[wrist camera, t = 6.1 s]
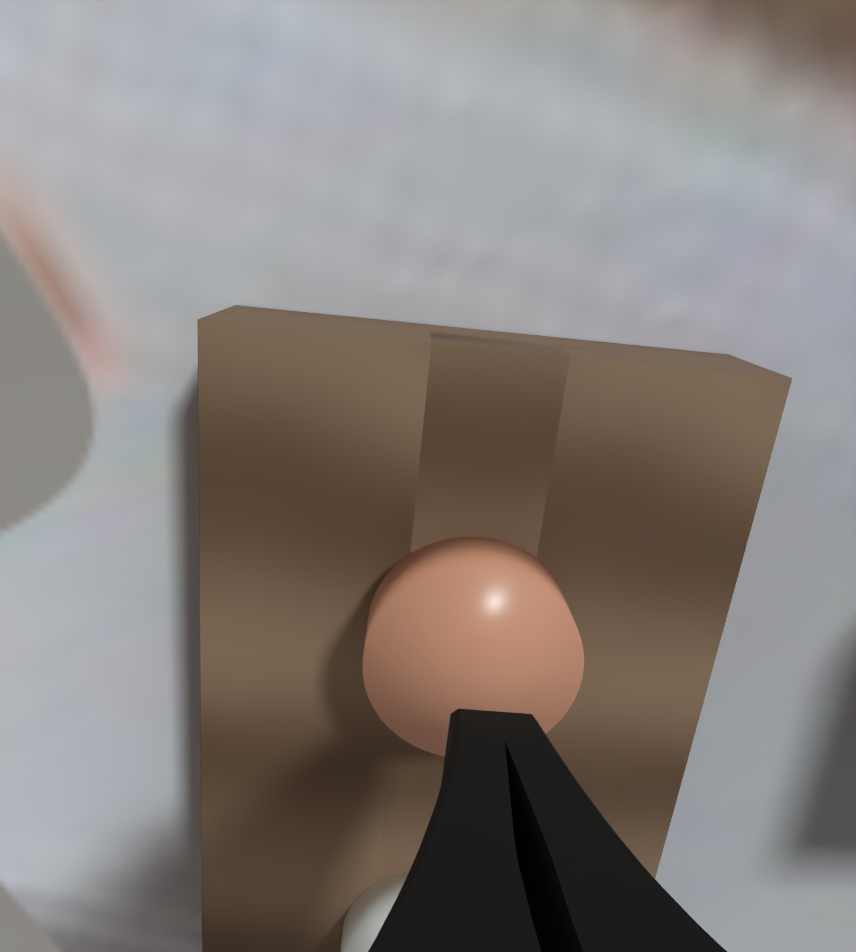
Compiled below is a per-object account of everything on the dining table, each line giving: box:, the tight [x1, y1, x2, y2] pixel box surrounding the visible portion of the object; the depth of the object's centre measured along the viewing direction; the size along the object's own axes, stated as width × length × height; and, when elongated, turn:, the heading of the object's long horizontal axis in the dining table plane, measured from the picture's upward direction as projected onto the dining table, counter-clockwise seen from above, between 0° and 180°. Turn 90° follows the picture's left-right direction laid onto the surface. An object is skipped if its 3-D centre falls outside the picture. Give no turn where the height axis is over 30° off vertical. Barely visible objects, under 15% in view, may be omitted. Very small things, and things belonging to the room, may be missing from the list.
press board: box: [198, 305, 792, 952], centre depth 19 cm, size 22×12×3 cm, turn 174°
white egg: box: [340, 873, 408, 952], centre depth 19 cm, size 4×4×4 cm
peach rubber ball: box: [363, 536, 584, 756], centre depth 16 cm, size 4×4×4 cm
